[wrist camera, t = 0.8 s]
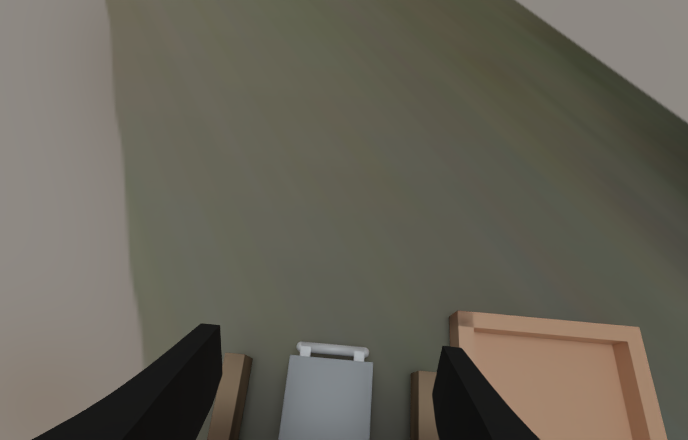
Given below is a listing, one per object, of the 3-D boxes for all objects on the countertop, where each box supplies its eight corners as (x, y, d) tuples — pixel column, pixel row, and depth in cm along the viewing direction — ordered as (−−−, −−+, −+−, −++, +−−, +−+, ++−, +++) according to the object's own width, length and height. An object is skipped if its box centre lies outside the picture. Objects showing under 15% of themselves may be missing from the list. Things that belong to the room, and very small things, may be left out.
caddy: (356, 538, 21) (362, 575, 17) (275, 531, 22) (260, 565, 17) (366, 354, 26) (373, 343, 21) (299, 347, 26) (292, 336, 21)
